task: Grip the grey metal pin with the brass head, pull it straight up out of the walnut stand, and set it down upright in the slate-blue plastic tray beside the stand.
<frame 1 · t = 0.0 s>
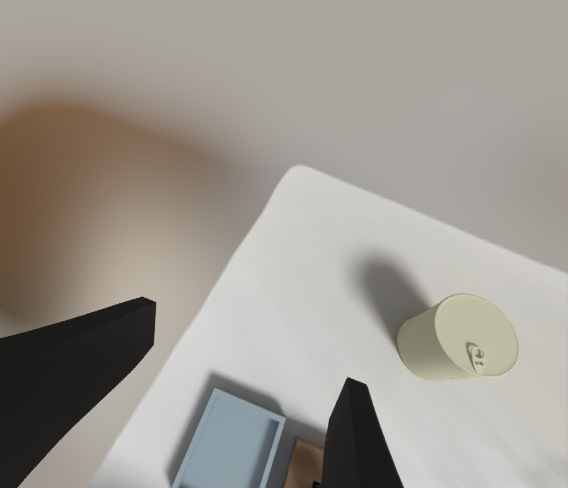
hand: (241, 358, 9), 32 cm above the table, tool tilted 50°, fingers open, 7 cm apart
can: (427, 347, 40), on the table
tray: (232, 453, 34), on the table
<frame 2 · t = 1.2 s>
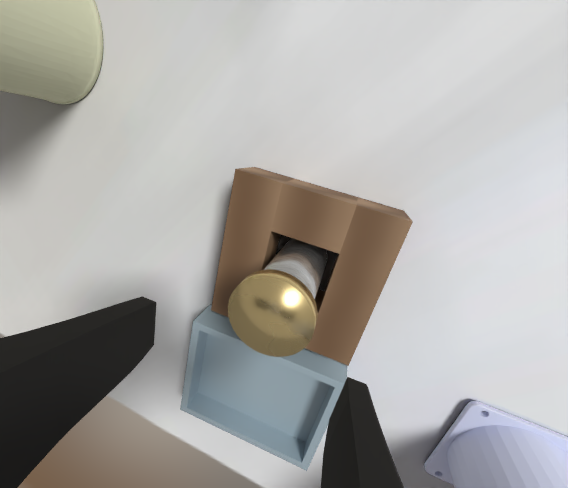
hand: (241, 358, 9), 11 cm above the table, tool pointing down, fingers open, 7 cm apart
pin: (304, 256, 19), resting in pin stand
pin stand: (304, 256, 19), on the table
can: (54, 34, 19), on the table
tray: (262, 375, 23), on the table
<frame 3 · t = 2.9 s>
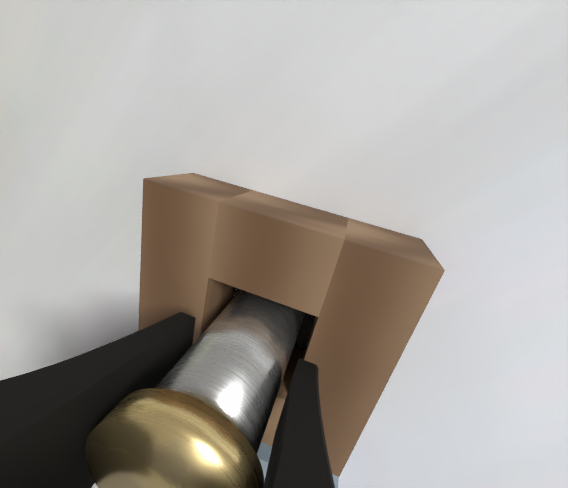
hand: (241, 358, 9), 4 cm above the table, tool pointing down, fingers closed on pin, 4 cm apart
pin: (273, 302, 13), resting in pin stand, touching gripper
pin stand: (273, 302, 13), on the table
tray: (228, 451, 17), on the table
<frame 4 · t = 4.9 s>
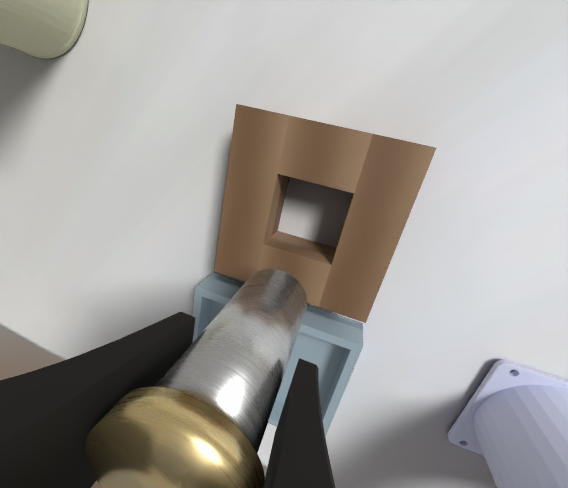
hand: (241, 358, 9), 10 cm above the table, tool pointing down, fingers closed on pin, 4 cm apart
pin: (274, 299, 13), point 6 cm above the table, touching gripper
pin stand: (313, 210, 18), on the table
tray: (271, 347, 22), on the table
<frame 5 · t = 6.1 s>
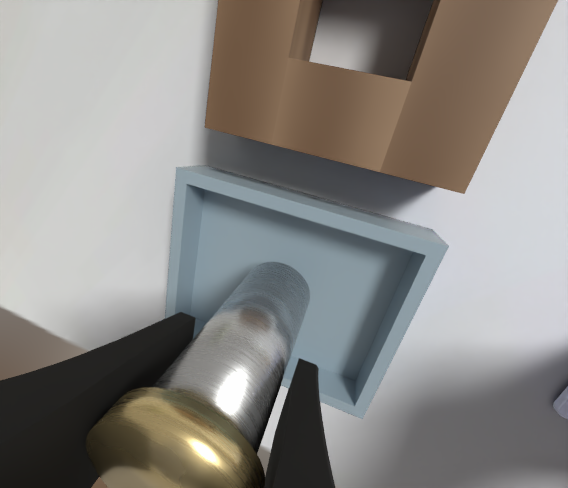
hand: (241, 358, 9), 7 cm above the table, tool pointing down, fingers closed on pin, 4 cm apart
pin: (277, 291, 13), point 3 cm above the table, touching gripper
pin stand: (366, 32, 11), on the table
tray: (287, 279, 15), on the table
when the fingers open (6 cm above the table, at t = 7.0 s): pin drops 1 cm, resting on tray.
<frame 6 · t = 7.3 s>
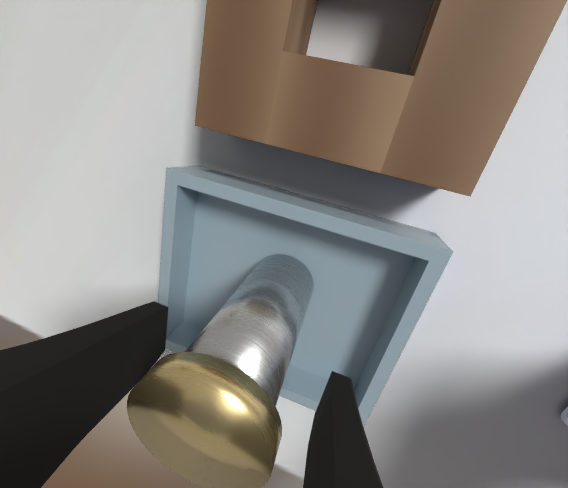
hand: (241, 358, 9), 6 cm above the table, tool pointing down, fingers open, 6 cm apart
pin: (283, 282, 14), point 1 cm above the table, touching tray
pin stand: (366, 25, 10), on the table
tray: (284, 284, 15), on the table
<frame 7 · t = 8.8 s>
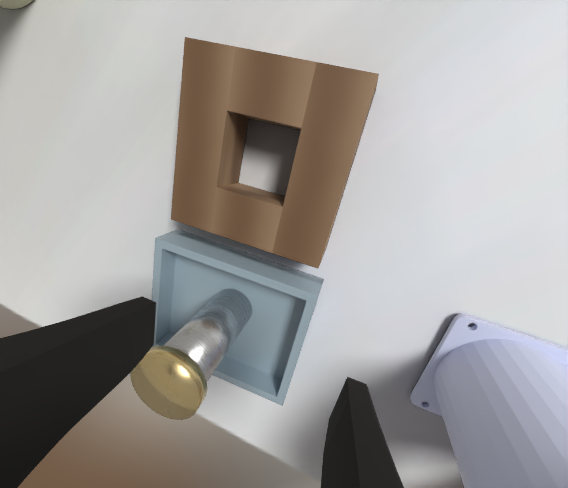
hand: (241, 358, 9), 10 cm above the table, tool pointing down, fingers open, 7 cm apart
pin: (233, 307, 21), point 1 cm above the table, touching tray
pin stand: (272, 159, 17), on the table
tray: (236, 307, 22), on the table
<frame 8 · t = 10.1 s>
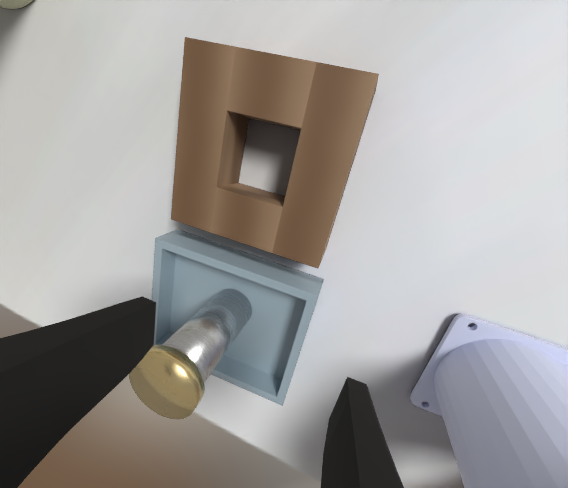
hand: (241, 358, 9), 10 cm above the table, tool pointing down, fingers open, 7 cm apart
pin: (233, 307, 21), point 1 cm above the table, touching tray
pin stand: (272, 159, 17), on the table
tray: (236, 307, 22), on the table
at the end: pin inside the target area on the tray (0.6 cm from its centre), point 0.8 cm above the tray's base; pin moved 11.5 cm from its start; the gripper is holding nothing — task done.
